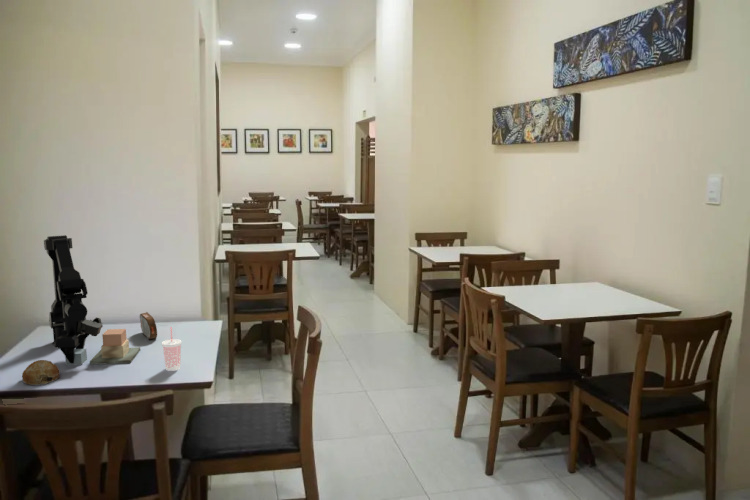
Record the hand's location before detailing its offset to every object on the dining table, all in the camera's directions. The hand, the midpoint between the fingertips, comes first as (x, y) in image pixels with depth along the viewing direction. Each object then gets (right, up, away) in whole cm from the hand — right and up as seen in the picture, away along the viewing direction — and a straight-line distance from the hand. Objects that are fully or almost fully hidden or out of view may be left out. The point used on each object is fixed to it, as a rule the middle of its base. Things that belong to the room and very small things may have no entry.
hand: (76, 359), depth 206 cm
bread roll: (-4, -4, -15) cm, 16 cm away
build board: (+11, 0, +5) cm, 12 cm away
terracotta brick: (+11, +5, +5) cm, 13 cm away
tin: (+14, +3, +29) cm, 32 cm away
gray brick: (0, -1, 0) cm, 1 cm away
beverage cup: (+34, -2, -5) cm, 34 cm away
